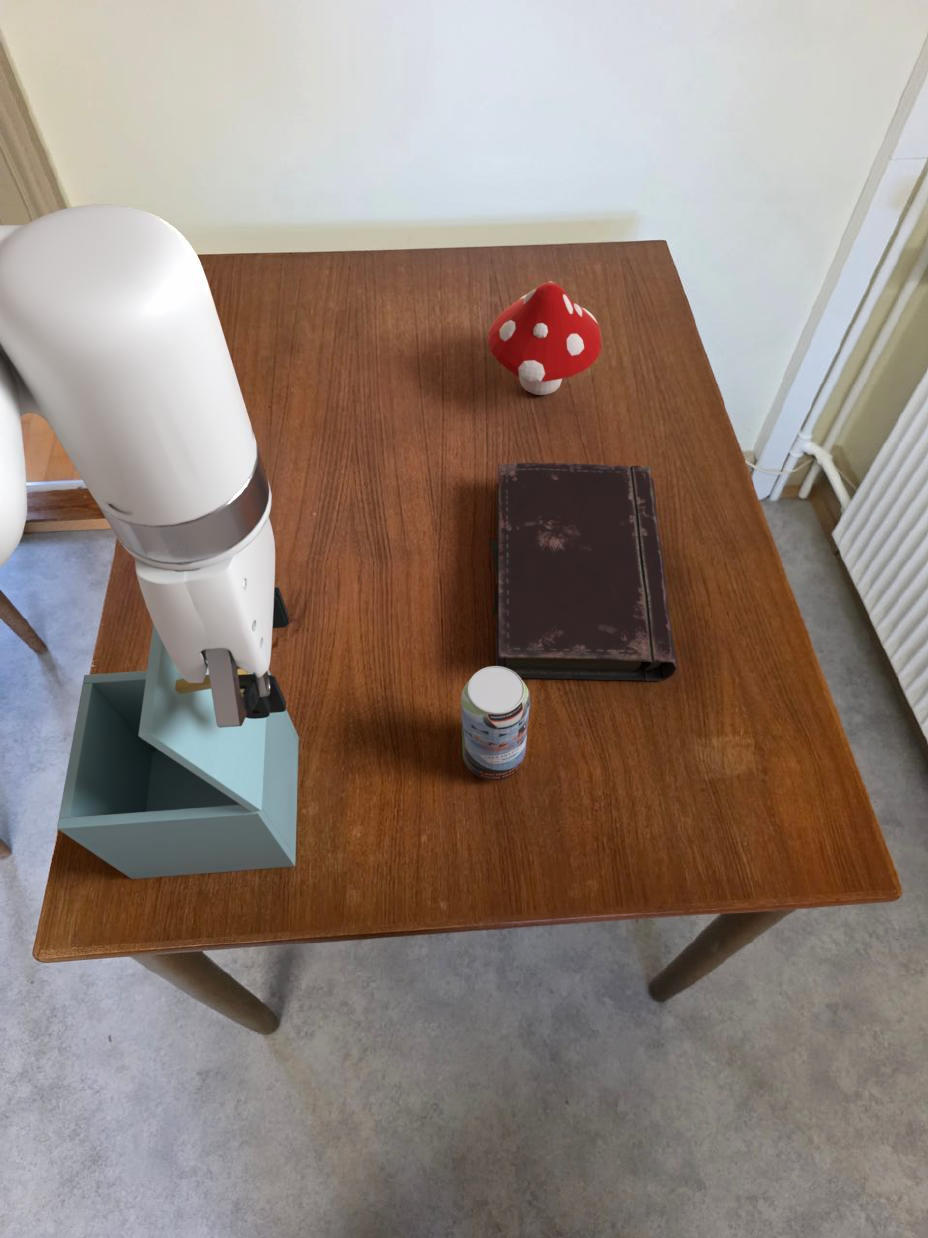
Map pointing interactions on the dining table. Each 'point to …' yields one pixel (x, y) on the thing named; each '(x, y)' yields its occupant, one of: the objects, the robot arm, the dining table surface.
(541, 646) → the diary
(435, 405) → the dining table surface
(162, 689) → the lid
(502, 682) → the beverage can
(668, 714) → the dining table surface
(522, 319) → the decorative mushroom
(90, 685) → the chest
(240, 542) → the robot arm
